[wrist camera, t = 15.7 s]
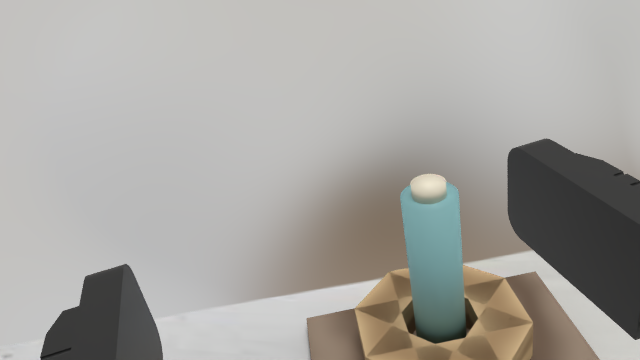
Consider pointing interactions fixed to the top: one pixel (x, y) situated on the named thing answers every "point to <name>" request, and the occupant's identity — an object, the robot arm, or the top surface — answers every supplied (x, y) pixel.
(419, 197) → the teal bottle
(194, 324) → the top surface
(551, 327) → the board
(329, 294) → the top surface
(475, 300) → the tan octagonal ring
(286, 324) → the top surface
